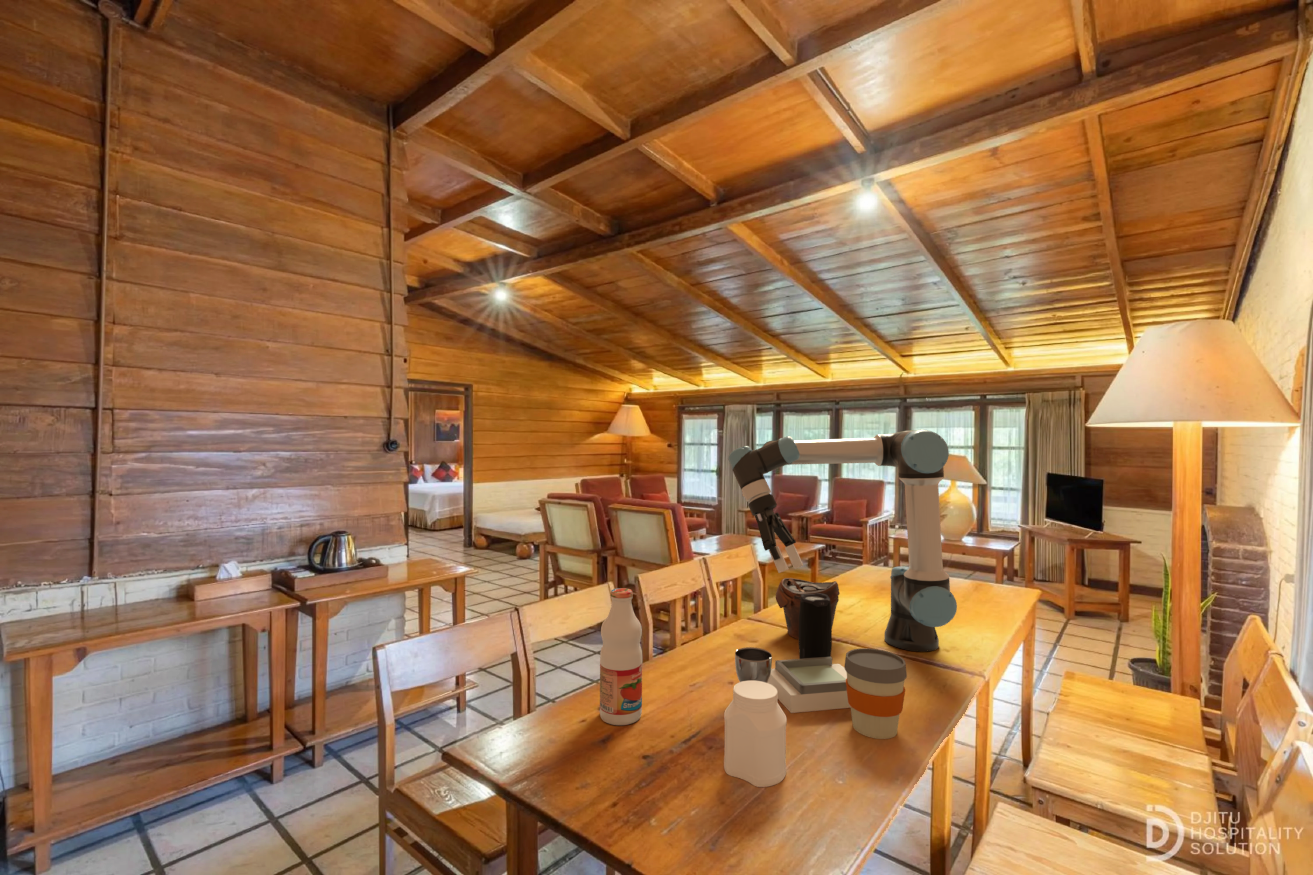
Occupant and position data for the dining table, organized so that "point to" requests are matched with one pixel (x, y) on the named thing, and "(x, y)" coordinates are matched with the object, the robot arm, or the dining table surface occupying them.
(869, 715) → the reusable coffee cup
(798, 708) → the dock
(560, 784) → the dining table surface
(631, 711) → the fruit juice
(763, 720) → the jar
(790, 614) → the brown tapered open container
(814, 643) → the portable speaker
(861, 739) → the dining table surface
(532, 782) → the dining table surface
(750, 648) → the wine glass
